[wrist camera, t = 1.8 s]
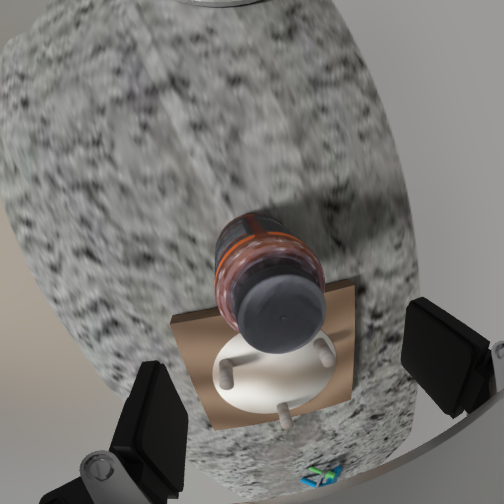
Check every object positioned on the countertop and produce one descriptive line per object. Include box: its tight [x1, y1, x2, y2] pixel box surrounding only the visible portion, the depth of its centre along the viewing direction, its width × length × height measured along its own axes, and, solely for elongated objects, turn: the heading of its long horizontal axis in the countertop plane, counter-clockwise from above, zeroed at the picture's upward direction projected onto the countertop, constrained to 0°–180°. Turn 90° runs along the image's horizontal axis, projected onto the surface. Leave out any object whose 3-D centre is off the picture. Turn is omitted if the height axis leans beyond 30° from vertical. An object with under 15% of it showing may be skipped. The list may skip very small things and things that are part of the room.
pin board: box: [170, 279, 355, 430], centre depth 23 cm, size 15×16×4 cm
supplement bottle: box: [215, 214, 326, 354], centre depth 17 cm, size 6×6×11 cm
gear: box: [301, 466, 342, 488], centre depth 32 cm, size 11×6×10 cm
